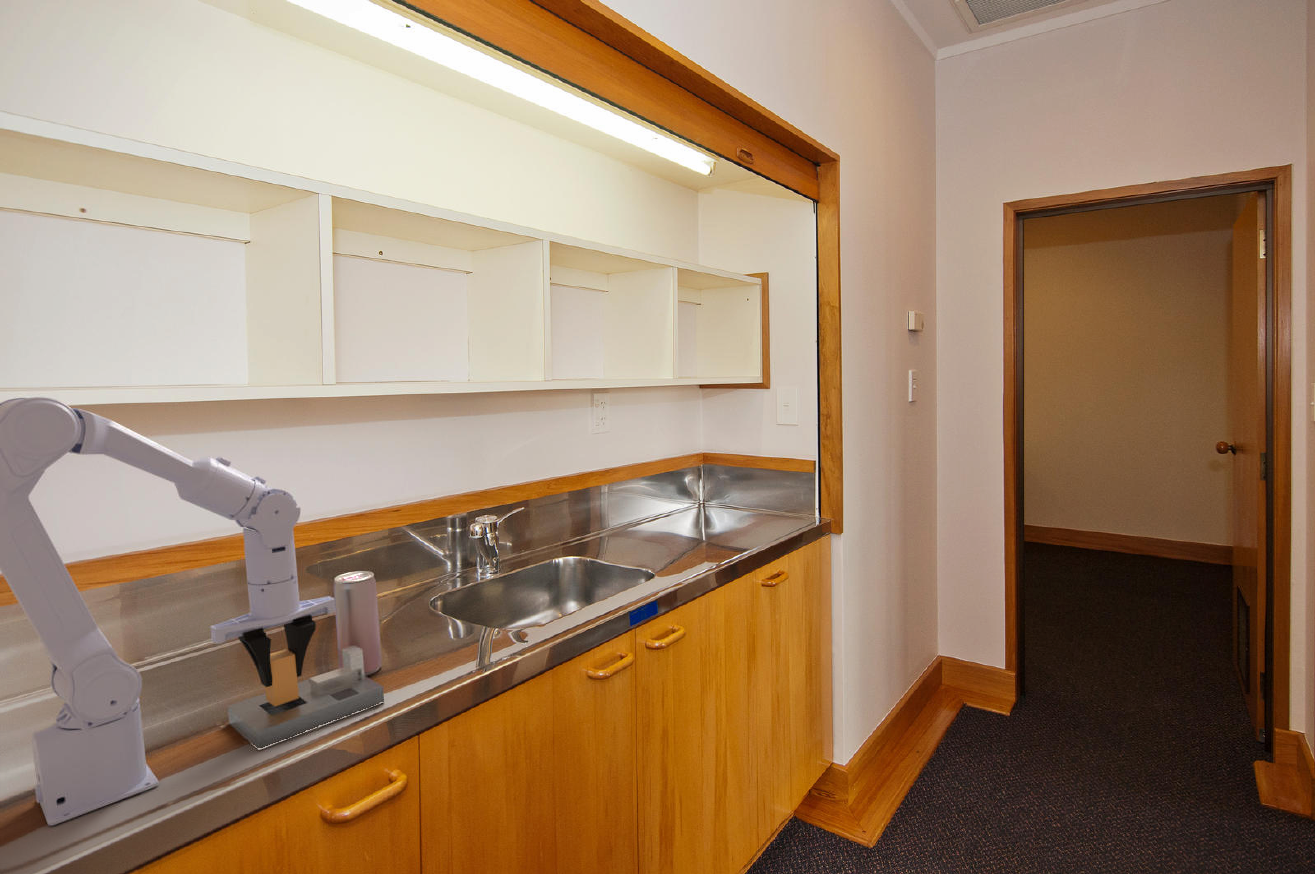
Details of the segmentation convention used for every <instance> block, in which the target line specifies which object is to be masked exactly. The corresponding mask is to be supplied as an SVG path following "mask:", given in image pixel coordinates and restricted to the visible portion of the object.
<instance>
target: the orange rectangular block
mask: <svg viewBox="0 0 1315 874" xmlns="http://www.w3.org/2000/svg"><path fill="white" fill-rule="evenodd" d="M270 665H271V672H272V686H269V687H265V686H264V690H265V691H264V692H265V694H266V700H267V701H268V702H269V703H271V704H272V705H273V706H278V705H281V704H284V703H286V702H289V701H292V700H295V699H298V698H299V694H298V683H299V682H298V677H297V673H296V661H295V654H294V653H292V652H290V651H289V650H288V648H285V649H282V650H279V651H275V652H273V653H270Z"/></svg>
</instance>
